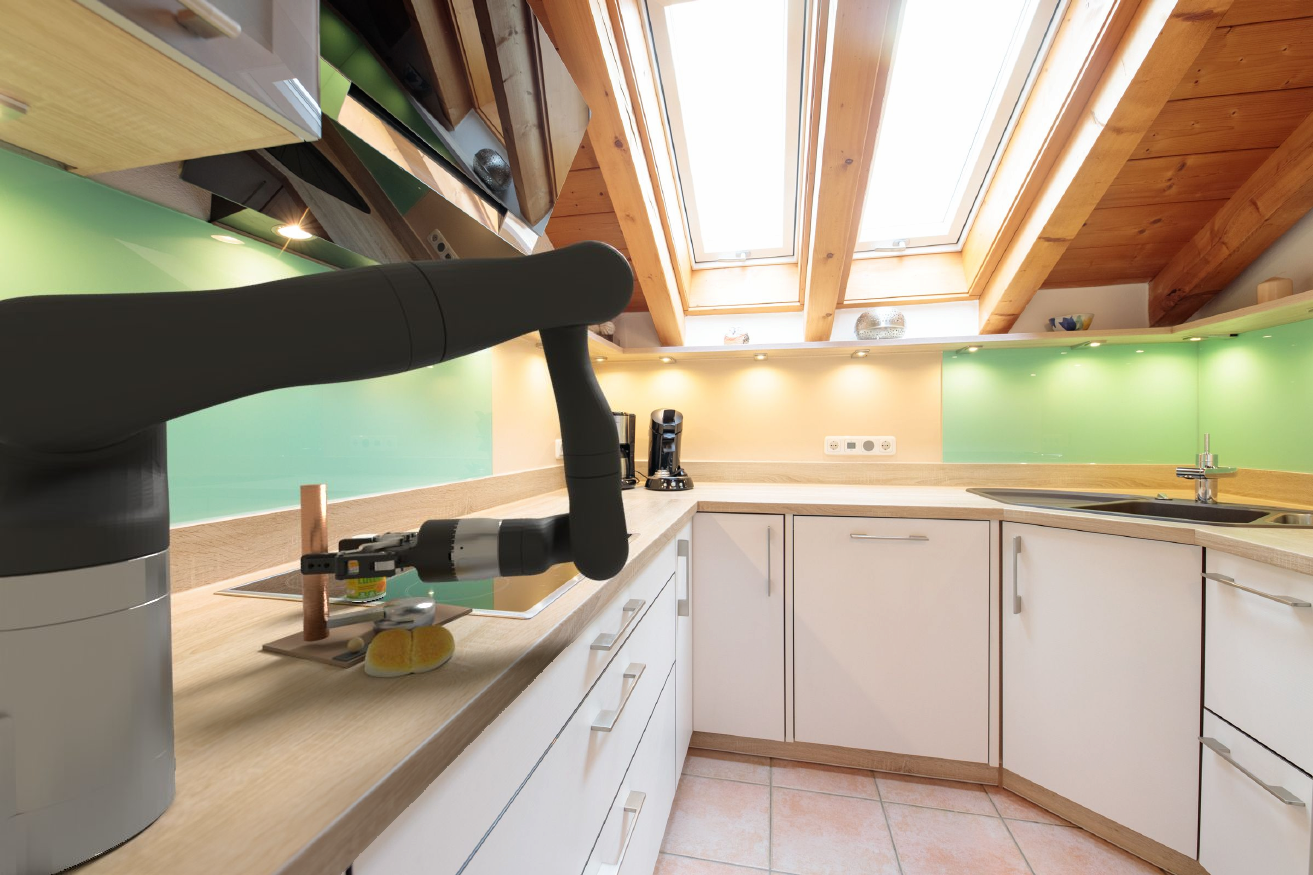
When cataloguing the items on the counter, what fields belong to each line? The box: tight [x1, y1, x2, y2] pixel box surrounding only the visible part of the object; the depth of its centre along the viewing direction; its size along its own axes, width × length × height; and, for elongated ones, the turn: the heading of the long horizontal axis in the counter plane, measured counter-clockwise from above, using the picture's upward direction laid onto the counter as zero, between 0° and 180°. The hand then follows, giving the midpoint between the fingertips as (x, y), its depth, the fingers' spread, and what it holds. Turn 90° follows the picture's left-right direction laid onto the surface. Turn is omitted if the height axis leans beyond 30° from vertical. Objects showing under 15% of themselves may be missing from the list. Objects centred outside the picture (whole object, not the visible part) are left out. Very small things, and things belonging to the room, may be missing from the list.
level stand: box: [261, 597, 473, 669], centre depth 67 cm, size 19×14×2 cm
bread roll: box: [364, 625, 456, 678], centre depth 58 cm, size 8×9×4 cm
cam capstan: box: [299, 483, 436, 642], centre depth 64 cm, size 14×6×18 cm, turn 122°
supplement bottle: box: [345, 533, 387, 602], centre depth 81 cm, size 5×5×10 cm
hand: (322, 555), depth 61 cm, fingers open, 8 cm apart
